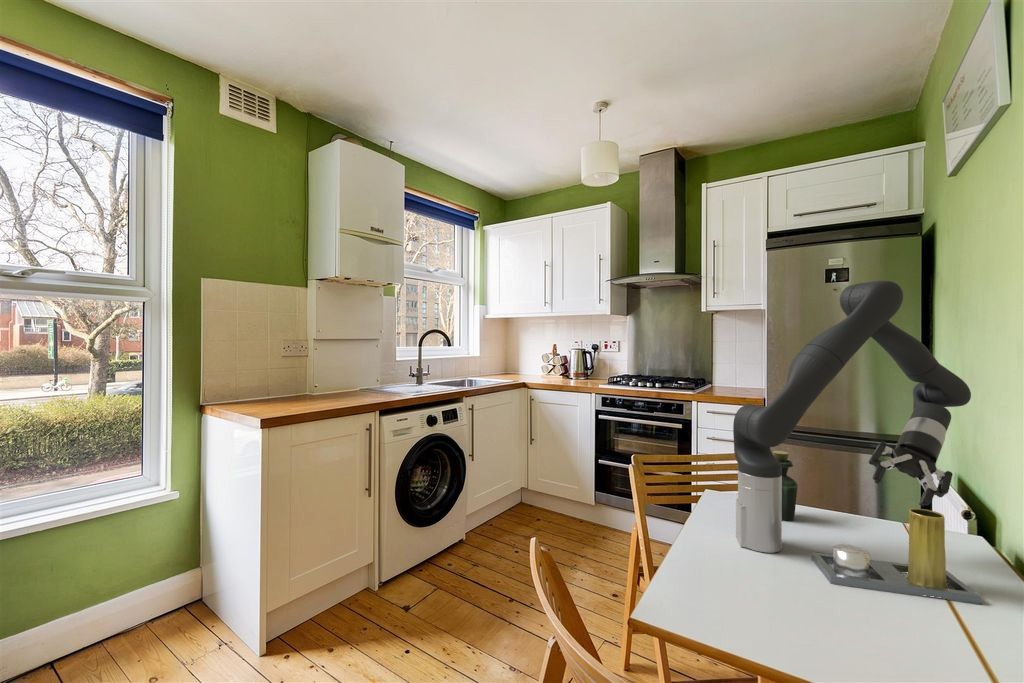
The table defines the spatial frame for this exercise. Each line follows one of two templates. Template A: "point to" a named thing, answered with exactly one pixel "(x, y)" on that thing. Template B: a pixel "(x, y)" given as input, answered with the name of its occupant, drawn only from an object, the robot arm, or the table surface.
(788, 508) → the potion bottle
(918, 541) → the vase
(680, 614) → the table surface
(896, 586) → the grey rectangular frame
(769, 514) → the robot arm
